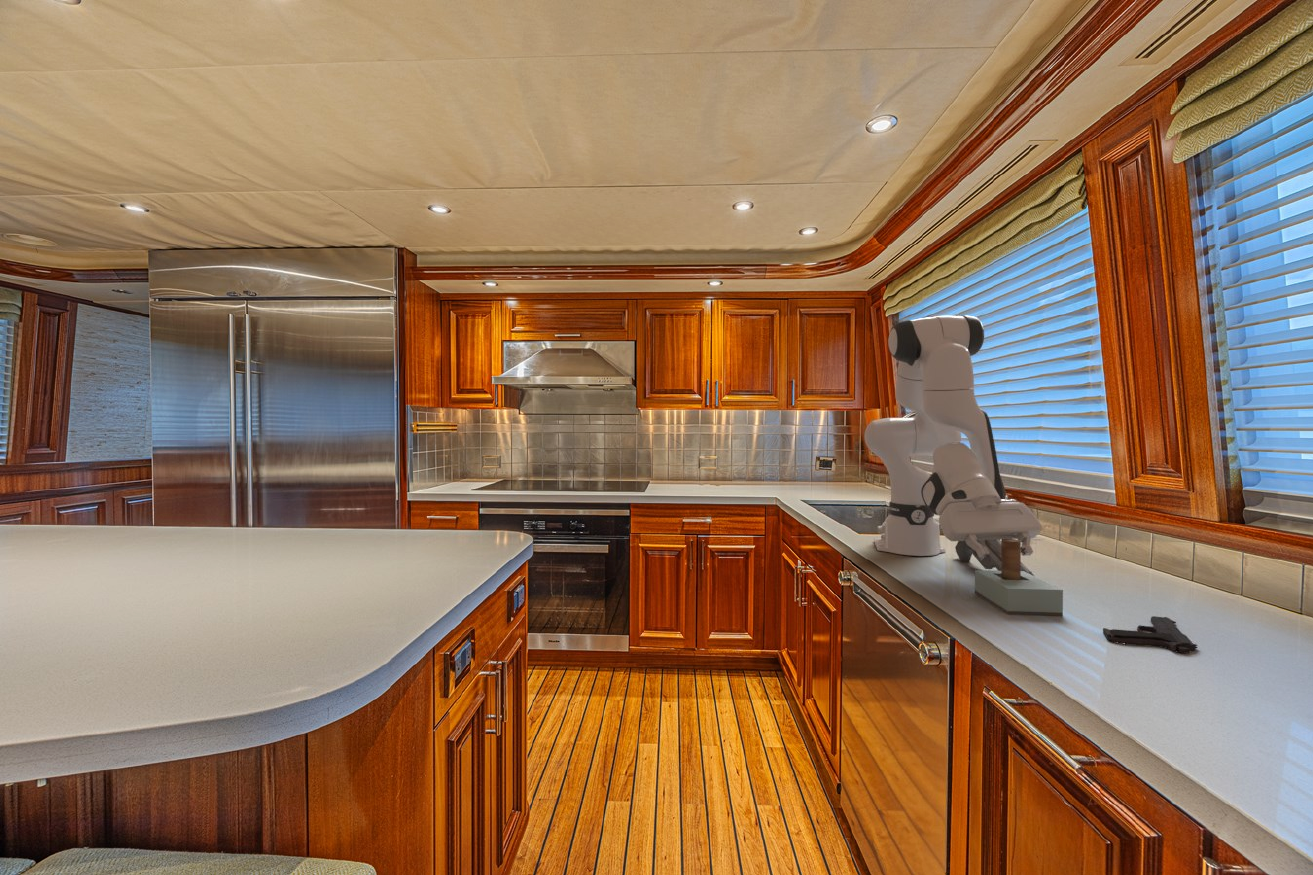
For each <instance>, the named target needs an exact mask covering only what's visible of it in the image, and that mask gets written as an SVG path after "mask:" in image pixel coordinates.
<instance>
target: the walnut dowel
mask: <svg viewBox="0 0 1313 875" xmlns="http://www.w3.org/2000/svg"><path fill="white" fill-rule="evenodd" d="M1000 541H1001V578H1002V579H1004V580H1021V562H1022V561H1021V556H1022V554H1021V546H1022V542H1021V541H1019V540H1018V539H1000Z"/></svg>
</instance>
